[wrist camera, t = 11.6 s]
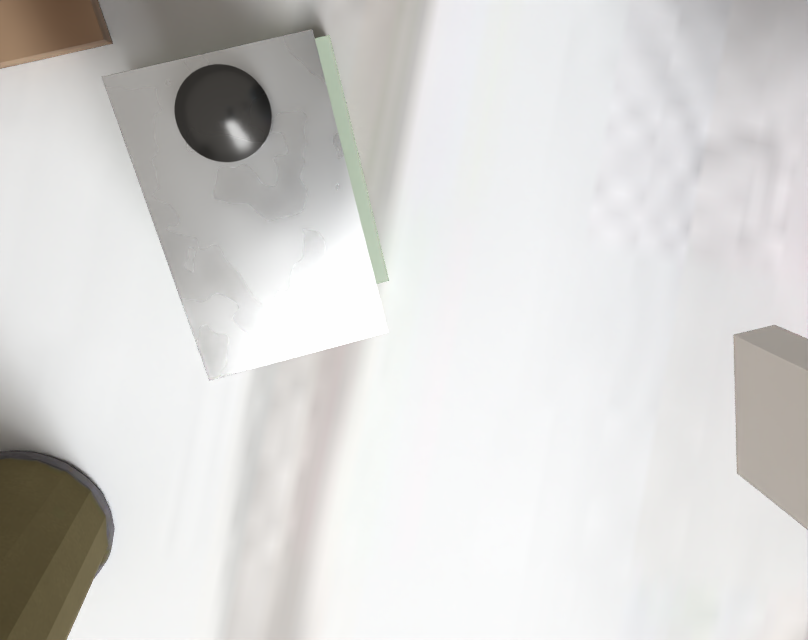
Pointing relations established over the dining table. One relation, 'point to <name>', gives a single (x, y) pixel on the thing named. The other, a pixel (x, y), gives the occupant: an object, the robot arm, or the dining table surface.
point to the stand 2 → (351, 157)
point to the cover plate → (251, 200)
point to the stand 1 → (49, 29)
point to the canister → (47, 544)
